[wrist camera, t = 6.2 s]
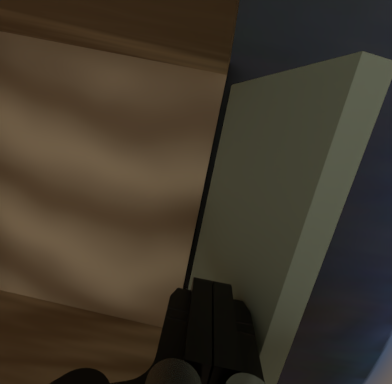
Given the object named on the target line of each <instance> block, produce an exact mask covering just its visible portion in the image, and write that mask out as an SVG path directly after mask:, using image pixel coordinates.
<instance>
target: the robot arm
mask: <svg viewBox="0 0 392 384" xmlns="http://www.w3.org/2000/svg"><path fill="white" fill-rule="evenodd" d="M49 384H266V383H265V381H264V377H263V372H262V367H261V362H260V357H259V352H258V347H257V342H256V337H255V332H254V327H253V322H252V317H251V312H250V311H249V309H248V308H247V306H246V305H245V303H244V302H243V301H240V300H236V299H233V293H232V286H231V284H226V283H221V282H216V281H211V280H206V279H201V278H197V277H193V281H192V285H191V290H187V289H182V288H177V289H176V290H175V291H174V292H173V293H172V294H171V295H170V298H169V303H168V307H167V311H166V315H165V319H164V324H163V328H162V332H161V336H160V340H159V344H158V349H157V353H156V357H155V360H154V362H153V364H152V365H151V367H150V368H149V369H148V370H147V371H146V372H145V373H144V374H142V375H141V376H139V377H137V378H135V379H132V380H128V381H121V382H114V383H109V380H108V379H107V377H106V376H105V375H104V374H103V373H102V372H100V371H98V370H96V369H93V368H79V369H75V370H72V371H70V372H68V373H66V374H64V375H62V376H61V377H59V378H58V379H56V380H54V381H53V382H51V383H49Z"/></svg>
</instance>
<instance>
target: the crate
mask: <svg viewBox="0 0 392 384" xmlns="http://www.w3.org/2000/svg"><path fill="white" fill-rule="evenodd" d="M238 7H239V0H0V384H49V383H51V382H53V381H54V380H56V379H58V378H59V377H61V376H62V375H64V374H66V373H68V372H70V371H72V370H75V369H79V368H93V369H96V370H98V371H100V372H102V373H103V374H104V375H105V376H106V377H107V379H108V380H109V383H114V382H121V381H128V380H132V379H135V378H137V377H139V376H141V375H142V374H144V373H145V372H146V371H147V370H148V369H149V368H150V367H151V365H152V364H153V362H154V360H155V357H156V353H157V349H158V344H159V340H160V336H161V332H162V328H163V324H164V319H165V315H166V311H167V307H168V303H169V298H170V295H171V294H172V293H173V292H174V291H175V290H176V289H177V288H182V289H183V285H184V280H185V275H186V270H187V266H188V261H189V256H190V251H191V246H192V242H193V237H194V232H195V227H196V222H197V217H198V213H199V208H200V203H201V198H202V193H203V189H204V184H205V179H206V174H207V169H208V165H209V160H210V155H211V150H212V145H213V140H214V136H215V131H216V126H217V121H218V116H219V112H220V107H221V102H222V97H223V92H224V88H225V83H226V78H227V73H228V68H229V64H230V58H231V51H232V45H233V39H234V32H235V26H236V20H237V13H238Z"/></svg>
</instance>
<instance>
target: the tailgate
mask: <svg viewBox="0 0 392 384" xmlns="http://www.w3.org/2000/svg"><path fill="white" fill-rule="evenodd" d="M391 79H392V60H389V59H386V58H383V57H380V56H377V55H373V54H370V53H367V52H364V51H361V52H357V53H353V54H349V55H346V56H342V57H338V58H334V59H330V60H326V61H322V62H318V63H314V64H311V65H307V66H303V67H299V68H295V69H291V70H287V71H283V72H280V73H276V74H272V75H268V76H264V77H260V78H256V79H252V80H248V81H245V82H241V83H237V84H233V85H232V86H231V90H230V95H229V100H228V104H227V109H226V114H225V118H224V123H223V128H222V132H221V137H220V142H219V146H218V151H217V156H216V160H215V165H214V170H213V174H212V179H211V184H210V188H209V193H208V197H207V202H206V207H205V211H204V216H203V221H202V225H201V230H200V235H199V239H198V244H197V249H196V253H195V258H194V263H193V267H192V272H191V277H190V281H189V286H188V290H191V285H192V281H193V277H197V278H201V279H206V280H211V281H216V282H221V283H226V284H231V286H232V293H233V299H236V300H240V301H243V302H244V303H245V305H246V306H247V308H248V309H249V311H250V312H251V317H252V322H253V327H254V332H255V337H256V342H257V347H258V352H259V357H260V362H261V367H262V372H263V377H264V381H265V383H266V384H277V382H278V379H279V376H280V374H281V371H282V369H283V366H284V363H285V361H286V358H287V355H288V353H289V350H290V347H291V345H292V342H293V339H294V337H295V334H296V331H297V329H298V326H299V323H300V321H301V318H302V315H303V313H304V310H305V308H306V305H307V302H308V300H309V297H310V294H311V292H312V289H313V286H314V284H315V281H316V278H317V276H318V273H319V270H320V268H321V265H322V262H323V260H324V257H325V254H326V252H327V249H328V246H329V244H330V241H331V239H332V236H333V233H334V231H335V228H336V225H337V223H338V220H339V217H340V215H341V212H342V209H343V207H344V204H345V201H346V199H347V196H348V193H349V191H350V188H351V185H352V183H353V180H354V178H355V175H356V172H357V170H358V167H359V164H360V162H361V159H362V156H363V154H364V151H365V148H366V146H367V143H368V140H369V138H370V135H371V132H372V130H373V127H374V124H375V122H376V119H377V117H378V114H379V111H380V109H381V106H382V103H383V101H384V98H385V95H386V93H387V90H388V87H389V85H390V82H391Z"/></svg>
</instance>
